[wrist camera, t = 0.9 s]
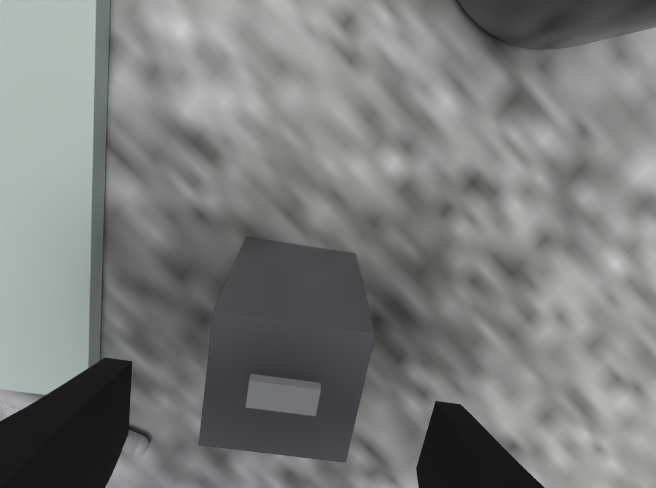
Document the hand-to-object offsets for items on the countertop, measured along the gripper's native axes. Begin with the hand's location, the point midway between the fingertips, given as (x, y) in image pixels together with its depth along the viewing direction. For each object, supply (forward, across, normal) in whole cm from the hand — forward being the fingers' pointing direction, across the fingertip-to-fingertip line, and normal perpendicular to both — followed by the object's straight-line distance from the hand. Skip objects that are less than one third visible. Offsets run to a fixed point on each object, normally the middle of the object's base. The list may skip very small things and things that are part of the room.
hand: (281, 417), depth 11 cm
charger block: (+7, 0, 0) cm, 7 cm away
